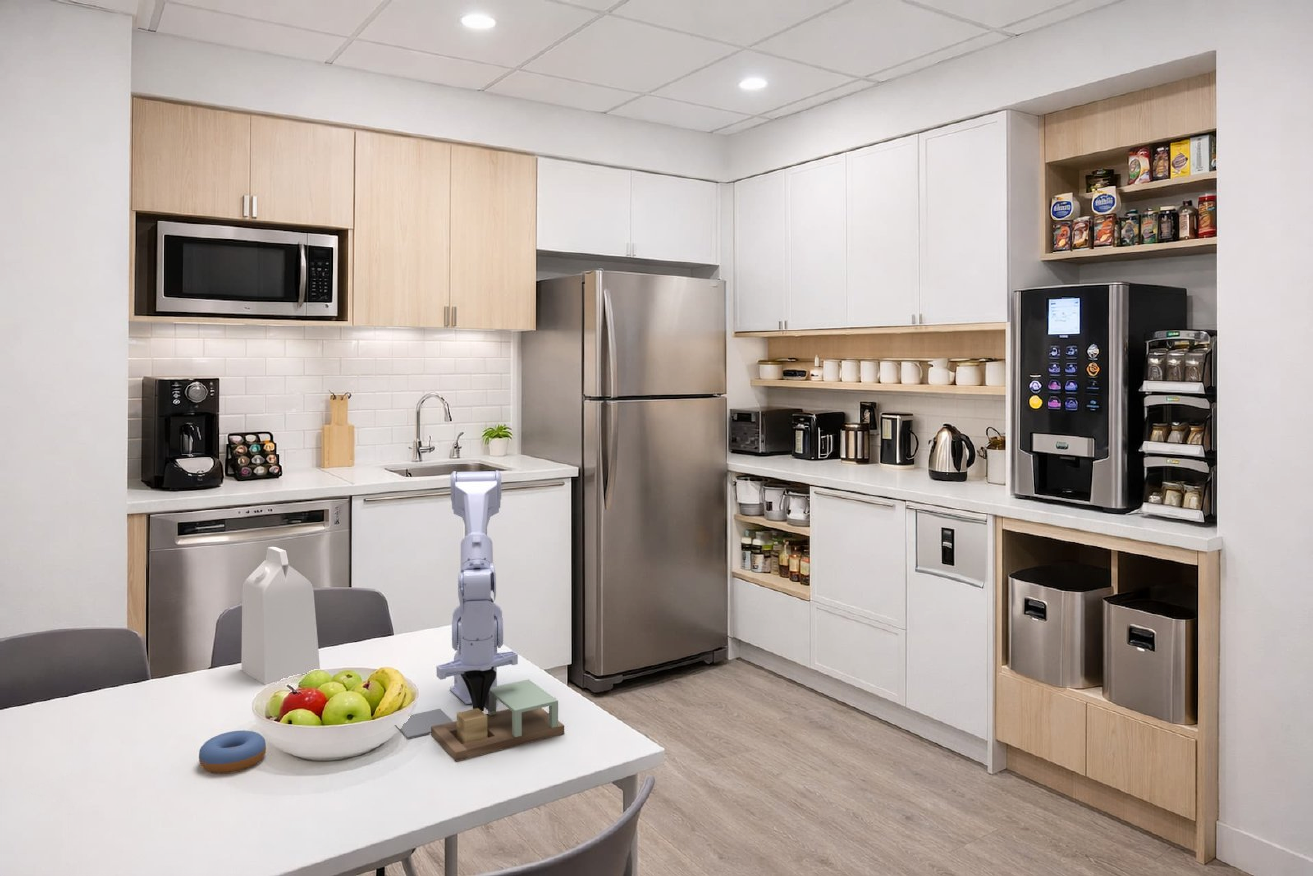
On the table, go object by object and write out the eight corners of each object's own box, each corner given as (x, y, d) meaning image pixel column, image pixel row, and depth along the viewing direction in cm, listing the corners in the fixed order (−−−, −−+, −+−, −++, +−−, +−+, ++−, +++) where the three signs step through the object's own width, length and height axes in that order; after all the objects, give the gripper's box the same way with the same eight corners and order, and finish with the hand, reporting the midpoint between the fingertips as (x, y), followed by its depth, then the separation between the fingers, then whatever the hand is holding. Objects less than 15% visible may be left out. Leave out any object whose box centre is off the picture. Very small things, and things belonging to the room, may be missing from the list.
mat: (392, 721, 160) (392, 719, 160) (440, 710, 165) (440, 708, 165) (407, 739, 152) (407, 737, 152) (457, 727, 157) (457, 725, 157)
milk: (320, 670, 185) (316, 549, 183) (264, 685, 177) (260, 558, 174) (295, 656, 193) (291, 540, 191) (241, 670, 185) (236, 548, 183)
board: (431, 735, 154) (431, 726, 154) (534, 710, 165) (534, 702, 165) (455, 761, 144) (455, 752, 144) (564, 733, 155) (564, 725, 155)
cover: (482, 714, 159) (482, 689, 159) (528, 703, 164) (528, 679, 164) (509, 738, 149) (509, 711, 149) (558, 726, 154) (558, 700, 154)
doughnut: (236, 742, 150) (234, 717, 149) (280, 755, 146) (278, 730, 145) (185, 772, 141) (183, 746, 140) (231, 788, 137) (229, 761, 136)
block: (456, 741, 152) (456, 713, 151) (478, 735, 154) (478, 708, 154) (465, 749, 149) (464, 721, 148) (487, 744, 151) (487, 716, 150)
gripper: (445, 649, 148) (447, 727, 149) (524, 635, 156) (525, 708, 157) (431, 638, 154) (433, 712, 155) (508, 624, 162) (509, 696, 163)
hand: (478, 710), depth 157 cm, fingers closed
